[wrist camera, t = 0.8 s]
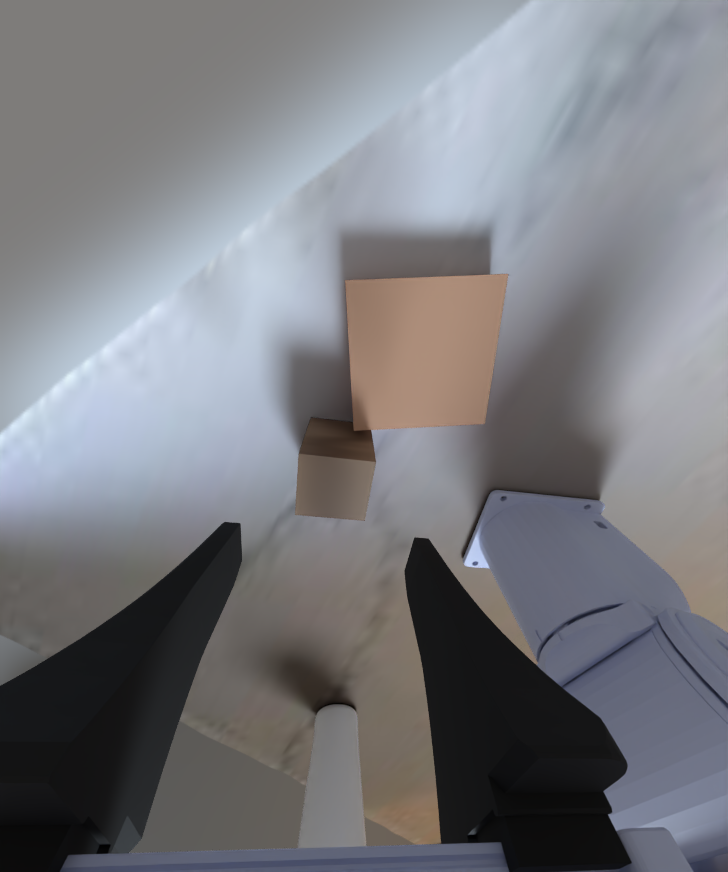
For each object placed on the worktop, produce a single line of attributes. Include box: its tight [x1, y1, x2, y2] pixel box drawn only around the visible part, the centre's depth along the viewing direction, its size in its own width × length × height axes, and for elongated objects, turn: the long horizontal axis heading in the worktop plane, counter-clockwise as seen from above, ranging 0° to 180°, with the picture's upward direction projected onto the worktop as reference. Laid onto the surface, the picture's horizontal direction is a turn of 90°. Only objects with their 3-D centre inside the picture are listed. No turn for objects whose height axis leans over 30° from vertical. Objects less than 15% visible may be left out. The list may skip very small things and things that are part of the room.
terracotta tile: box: [345, 274, 508, 431], centre depth 17 cm, size 8×8×2 cm
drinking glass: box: [298, 704, 366, 848], centre depth 30 cm, size 7×7×15 cm
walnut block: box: [295, 417, 376, 521], centre depth 18 cm, size 4×4×5 cm
